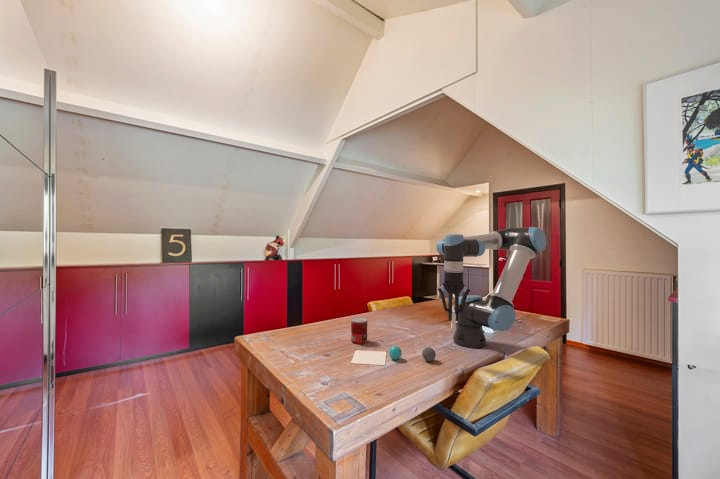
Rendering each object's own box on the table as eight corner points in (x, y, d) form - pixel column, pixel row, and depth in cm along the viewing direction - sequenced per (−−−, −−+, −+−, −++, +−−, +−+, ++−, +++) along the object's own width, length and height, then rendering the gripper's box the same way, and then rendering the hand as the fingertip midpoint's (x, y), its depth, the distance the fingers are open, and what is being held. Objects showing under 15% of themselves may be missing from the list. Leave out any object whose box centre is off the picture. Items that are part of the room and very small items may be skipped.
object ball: (401, 356, 128) (401, 344, 128) (401, 362, 123) (401, 348, 123) (388, 356, 129) (388, 343, 129) (388, 361, 123) (388, 348, 123)
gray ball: (434, 358, 126) (434, 345, 126) (436, 364, 121) (436, 350, 121) (421, 357, 127) (421, 345, 127) (422, 363, 121) (422, 349, 121)
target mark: (386, 352, 133) (386, 351, 133) (385, 365, 119) (385, 365, 119) (355, 350, 135) (355, 350, 135) (350, 363, 121) (350, 363, 121)
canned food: (365, 345, 142) (365, 322, 142) (349, 343, 144) (349, 321, 144) (368, 339, 150) (368, 318, 150) (353, 338, 151) (353, 317, 151)
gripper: (438, 272, 120) (438, 330, 119) (472, 272, 118) (471, 332, 118) (436, 270, 127) (435, 325, 127) (467, 270, 125) (467, 326, 125)
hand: (453, 328), depth 122 cm, fingers closed
